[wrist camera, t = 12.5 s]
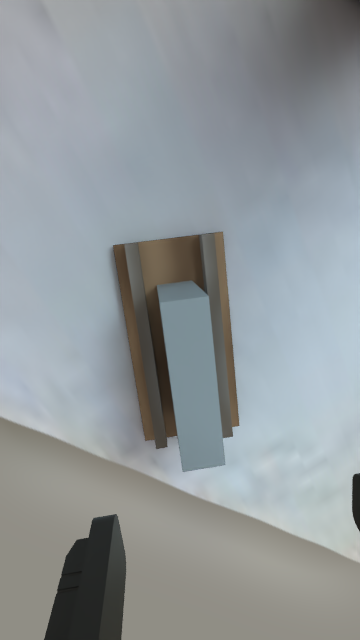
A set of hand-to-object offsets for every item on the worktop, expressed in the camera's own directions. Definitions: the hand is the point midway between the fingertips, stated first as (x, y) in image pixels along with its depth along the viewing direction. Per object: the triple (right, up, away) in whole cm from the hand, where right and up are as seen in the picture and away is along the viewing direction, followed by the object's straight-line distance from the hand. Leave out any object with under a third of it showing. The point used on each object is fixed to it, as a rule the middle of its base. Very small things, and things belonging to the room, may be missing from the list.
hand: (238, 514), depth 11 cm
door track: (-2, +5, +19) cm, 20 cm away
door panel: (-2, +4, +18) cm, 19 cm away
